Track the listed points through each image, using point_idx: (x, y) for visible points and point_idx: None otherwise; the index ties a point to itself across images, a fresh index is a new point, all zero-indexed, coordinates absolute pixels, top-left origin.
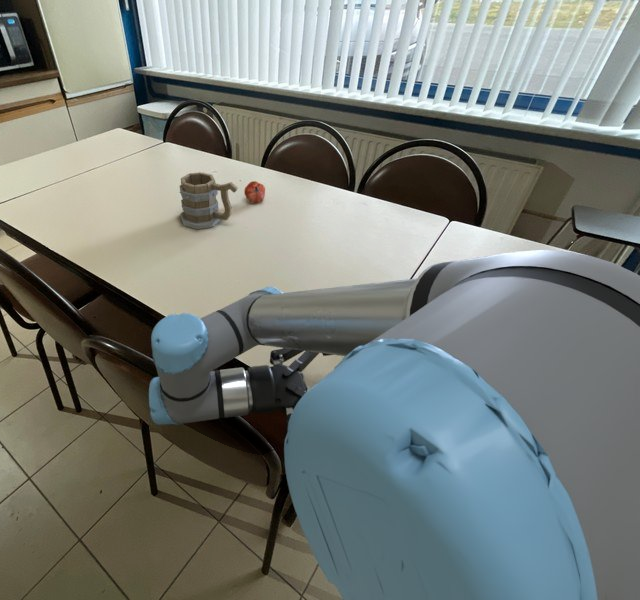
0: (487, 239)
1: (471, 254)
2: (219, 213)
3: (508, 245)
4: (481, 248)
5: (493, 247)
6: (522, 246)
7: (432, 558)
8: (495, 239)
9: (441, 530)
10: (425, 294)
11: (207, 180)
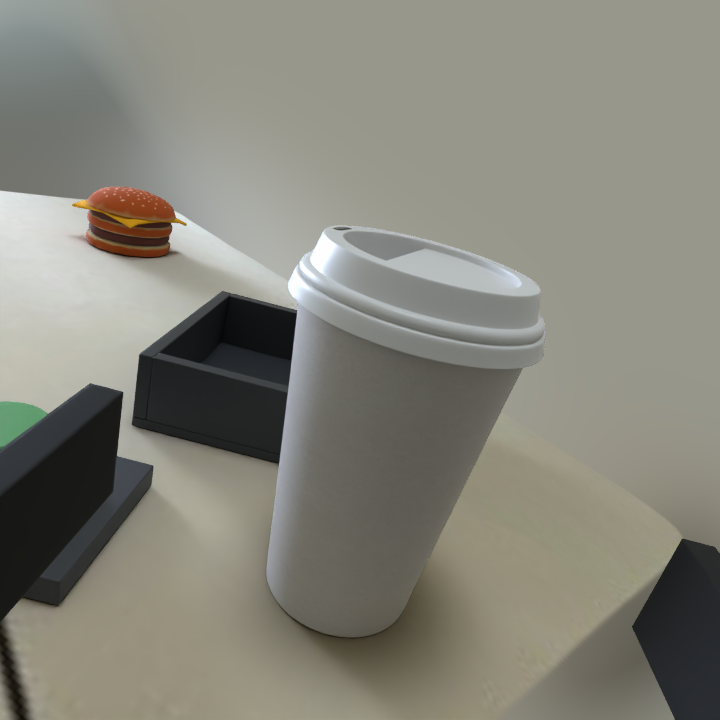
0: (3, 195)
1: (4, 217)
2: None
3: (51, 200)
4: (10, 208)
5: (30, 205)
6: (74, 200)
7: None
8: (18, 195)
9: None
10: None
11: None
